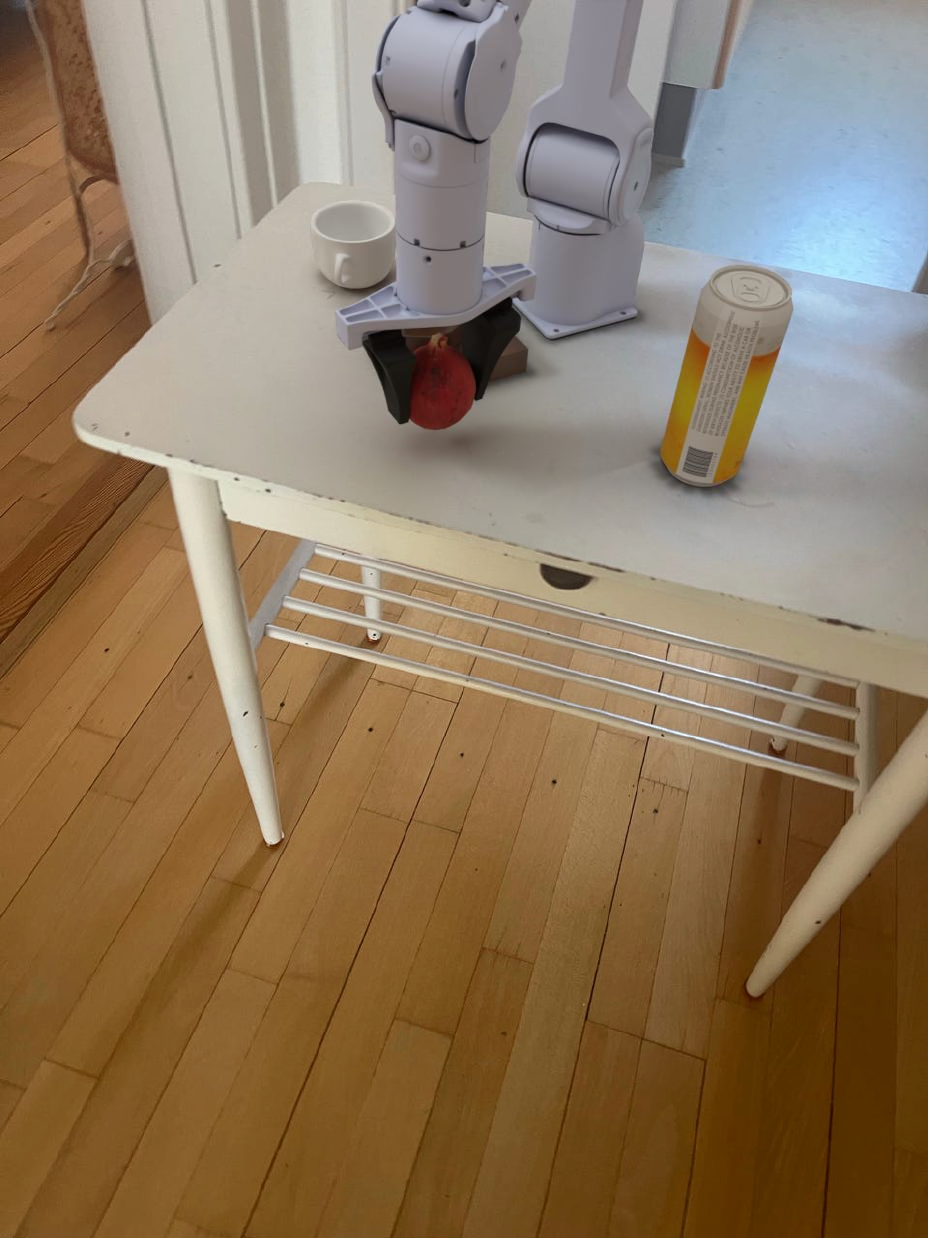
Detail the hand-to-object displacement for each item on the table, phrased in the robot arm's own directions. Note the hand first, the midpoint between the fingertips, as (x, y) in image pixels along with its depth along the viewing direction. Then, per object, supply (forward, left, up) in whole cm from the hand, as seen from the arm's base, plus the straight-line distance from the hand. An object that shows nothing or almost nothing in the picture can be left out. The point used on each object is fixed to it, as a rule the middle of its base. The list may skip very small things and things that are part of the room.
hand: (436, 404), depth 71 cm
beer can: (-17, +11, -4) cm, 21 cm away
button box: (-6, -11, -3) cm, 13 cm away
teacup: (-3, -24, -4) cm, 24 cm away
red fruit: (0, 0, -2) cm, 2 cm away
